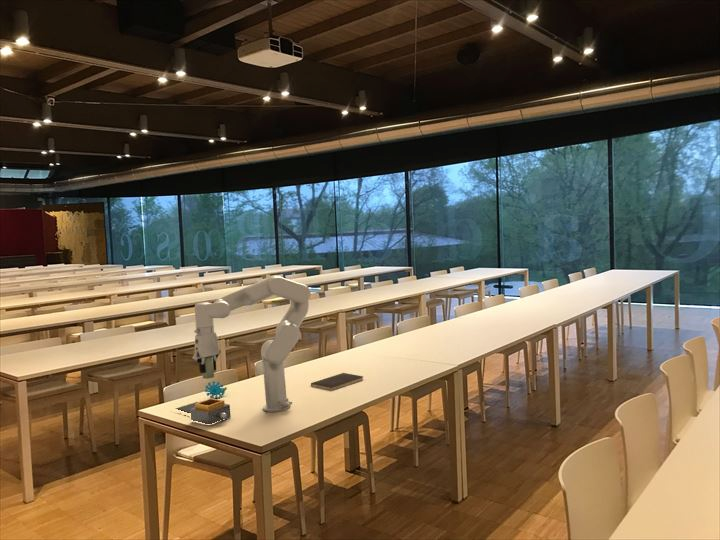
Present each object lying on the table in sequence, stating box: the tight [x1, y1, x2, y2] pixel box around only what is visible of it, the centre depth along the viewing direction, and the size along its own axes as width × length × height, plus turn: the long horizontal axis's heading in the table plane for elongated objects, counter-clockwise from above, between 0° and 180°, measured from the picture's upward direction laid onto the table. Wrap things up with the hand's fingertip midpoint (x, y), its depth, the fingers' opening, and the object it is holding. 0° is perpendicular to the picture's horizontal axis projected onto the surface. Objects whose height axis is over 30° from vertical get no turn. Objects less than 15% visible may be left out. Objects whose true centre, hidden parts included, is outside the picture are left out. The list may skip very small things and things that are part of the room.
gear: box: [204, 380, 228, 399], centre depth 292 cm, size 11×6×10 cm
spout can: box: [201, 356, 215, 380], centre depth 254 cm, size 5×5×11 cm
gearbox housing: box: [190, 397, 232, 424], centre depth 253 cm, size 16×12×8 cm
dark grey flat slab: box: [175, 401, 200, 413], centre depth 271 cm, size 20×2×15 cm
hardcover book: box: [310, 372, 364, 391], centre depth 301 cm, size 16×23×2 cm
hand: (208, 370), depth 254 cm, fingers closed on spout can, 5 cm apart
